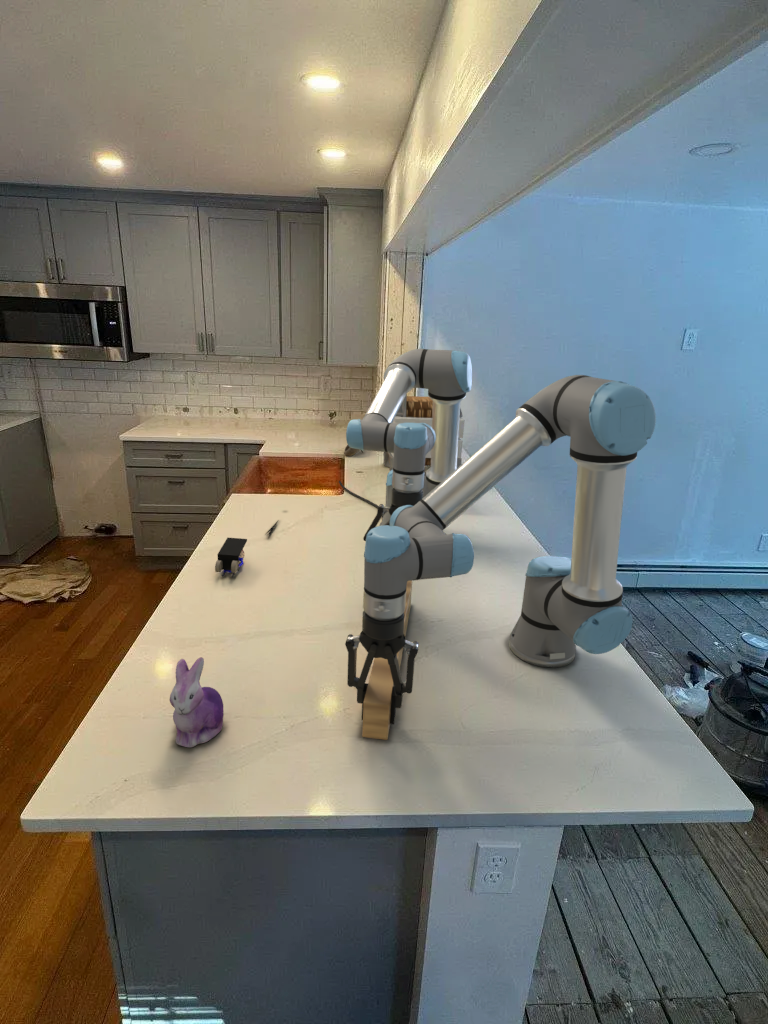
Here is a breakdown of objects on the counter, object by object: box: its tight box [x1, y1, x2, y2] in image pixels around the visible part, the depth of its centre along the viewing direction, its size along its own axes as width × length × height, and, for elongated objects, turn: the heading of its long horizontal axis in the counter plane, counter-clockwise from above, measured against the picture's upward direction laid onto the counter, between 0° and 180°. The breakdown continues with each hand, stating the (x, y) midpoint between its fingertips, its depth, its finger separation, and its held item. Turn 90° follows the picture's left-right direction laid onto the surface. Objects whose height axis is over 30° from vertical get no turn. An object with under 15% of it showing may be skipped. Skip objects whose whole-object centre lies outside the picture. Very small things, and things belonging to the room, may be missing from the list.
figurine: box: [169, 657, 225, 748], centre depth 102 cm, size 9×10×15 cm
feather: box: [265, 520, 279, 539], centre depth 203 cm, size 2×28×2 cm
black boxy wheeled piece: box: [214, 537, 248, 578], centre depth 166 cm, size 7×8×15 cm
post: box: [361, 580, 413, 741], centre depth 127 cm, size 51×5×8 cm, turn 173°
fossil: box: [343, 443, 364, 457], centre depth 306 cm, size 22×10×15 cm
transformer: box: [383, 393, 465, 472], centre depth 268 cm, size 34×33×41 cm
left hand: (402, 569), depth 143 cm, fingers open, 13 cm apart
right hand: (378, 717), depth 109 cm, fingers closed on post, 5 cm apart
